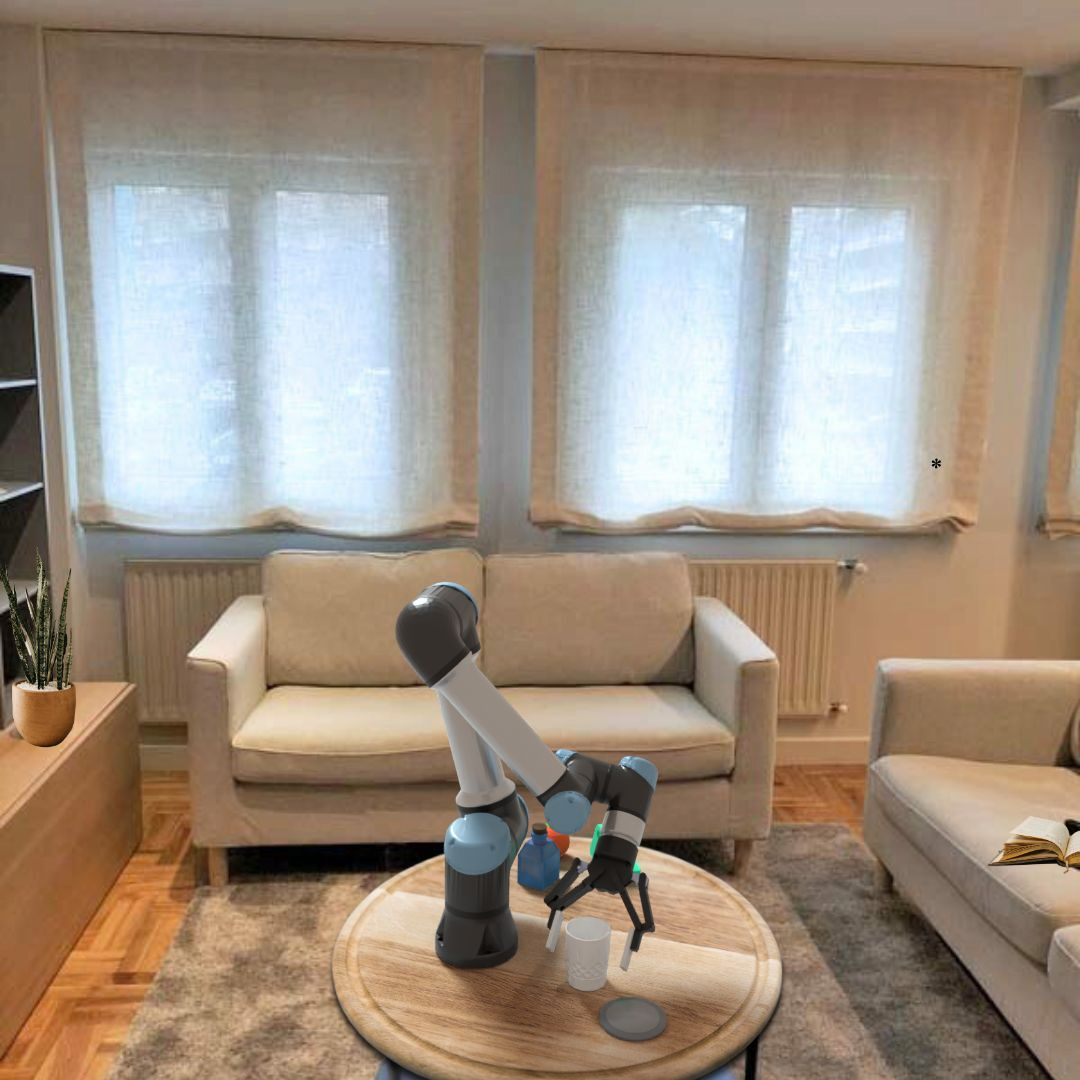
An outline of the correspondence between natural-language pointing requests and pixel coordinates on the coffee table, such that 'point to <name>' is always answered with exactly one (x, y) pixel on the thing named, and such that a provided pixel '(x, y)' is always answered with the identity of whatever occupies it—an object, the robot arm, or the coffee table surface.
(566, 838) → the clementine
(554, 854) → the perfume bottle
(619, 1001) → the coaster
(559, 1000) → the coffee table surface
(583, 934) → the white cup
